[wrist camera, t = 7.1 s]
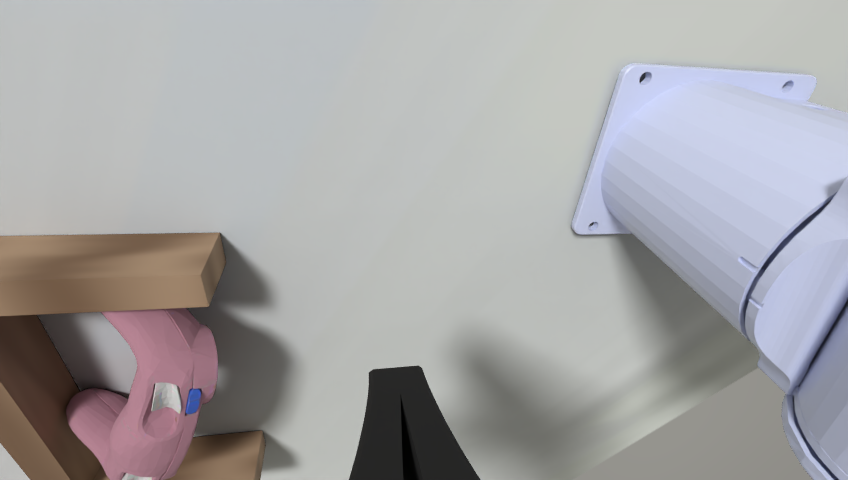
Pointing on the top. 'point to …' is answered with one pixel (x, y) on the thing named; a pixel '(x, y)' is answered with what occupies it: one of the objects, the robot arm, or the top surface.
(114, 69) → the top surface
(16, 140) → the top surface
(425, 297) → the top surface
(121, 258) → the docking bay
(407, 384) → the robot arm
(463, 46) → the top surface
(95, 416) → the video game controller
